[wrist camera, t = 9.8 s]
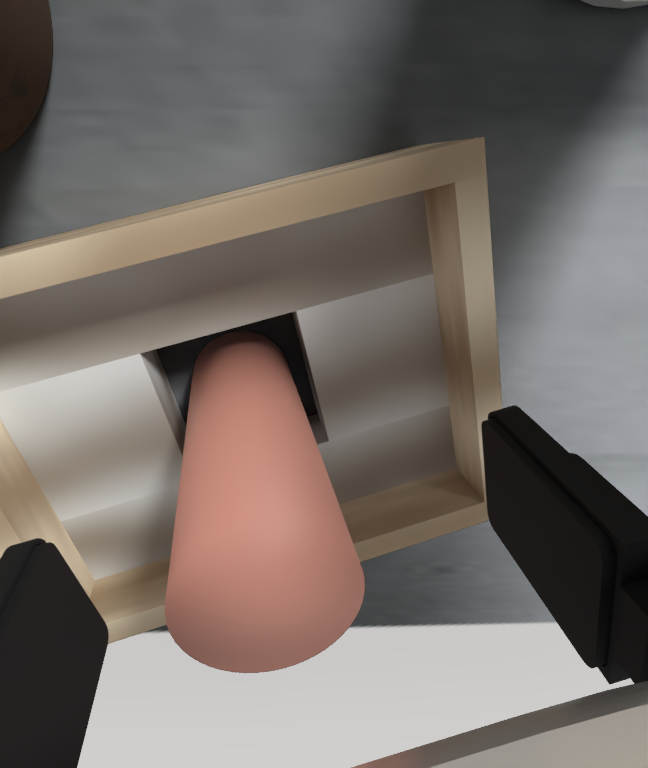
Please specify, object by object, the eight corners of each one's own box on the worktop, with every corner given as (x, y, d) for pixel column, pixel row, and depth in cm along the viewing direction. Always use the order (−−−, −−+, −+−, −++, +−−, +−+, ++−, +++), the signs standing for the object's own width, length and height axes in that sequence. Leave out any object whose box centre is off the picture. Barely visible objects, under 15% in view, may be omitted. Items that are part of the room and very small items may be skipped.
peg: (179, 346, 20) (131, 561, 9) (275, 319, 20) (344, 495, 9) (210, 429, 21) (202, 696, 10) (298, 404, 22) (379, 636, 11)
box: (-75, 267, 17) (-183, 302, 12) (418, 144, 18) (484, 136, 14) (94, 561, 23) (64, 657, 18) (455, 450, 24) (508, 513, 20)
